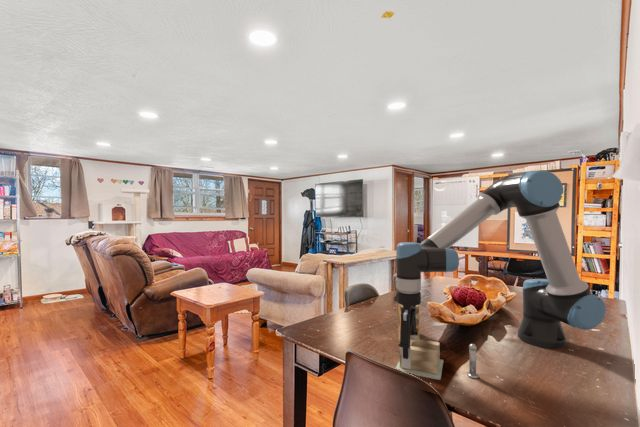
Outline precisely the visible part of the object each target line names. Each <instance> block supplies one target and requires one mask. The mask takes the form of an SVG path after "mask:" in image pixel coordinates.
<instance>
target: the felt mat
mask: <svg viewBox="0 0 640 427" xmlns="http://www.w3.org/2000/svg"><path fill="white" fill-rule="evenodd" d="M443 365H444V359H440V362H439V364H438V374H434V373H429V372H424V371H419V370H413V369H407V368H402V367H400V359H399V360H398V362H397V364H396V366H395V369H396V368H397V369H400V370H402V371H406V372H409V373H411V374H410V375H413V374H414V375H413V376H419V377H423V378H426V379H427V378H428V379H433V380H437V381H441V380H442V372H443V367H444V366H443Z"/></svg>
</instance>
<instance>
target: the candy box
mask: <svg viewBox="0 0 640 427" xmlns="http://www.w3.org/2000/svg"><path fill="white" fill-rule="evenodd" d="M402 309H403V305H402V304H399V303H398V320H399V329H398V341H399V342H400V334H401V310H402ZM398 320H397V321H398ZM416 329H417V330H416V331H415V332H418V335H414V336H415V338H416V339H420V338H421V337H420V305H416ZM420 340H421V339H420Z"/></svg>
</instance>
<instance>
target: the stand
mask: <svg viewBox="0 0 640 427" xmlns="http://www.w3.org/2000/svg"><path fill="white" fill-rule="evenodd" d="M477 348H478V347H477V345H476V344H475V343H470V344H468V349H469V350H468V351H469V352H468V353H469V354H468V355H469V359H468V360H469V370H468V372H467V373H466V375H467V377H468V378H471V379H475V380H477V379H479V374H478V373H477Z"/></svg>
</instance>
